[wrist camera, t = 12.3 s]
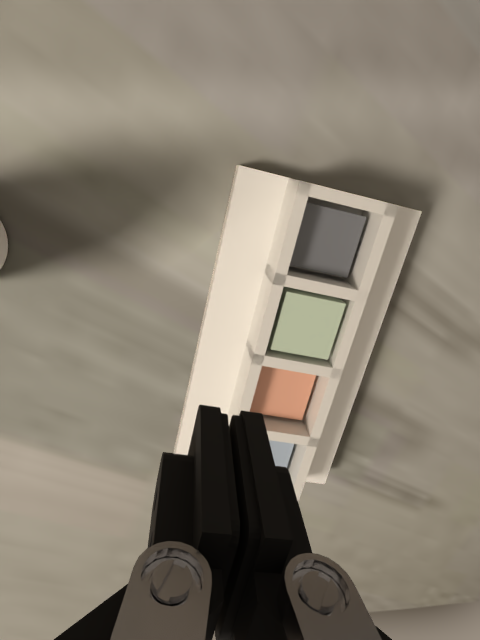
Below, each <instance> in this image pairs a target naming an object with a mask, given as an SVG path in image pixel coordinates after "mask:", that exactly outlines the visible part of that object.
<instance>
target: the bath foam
mask: <svg viewBox="0 0 480 640" xmlns="http://www.w3.org/2000/svg"><path fill="white" fill-rule="evenodd" d="M7 252H8V240H7V235H6V231H5V228H4V226H3V224H2V222H1V220H0V269H1V268H2V266H3V264H4V262H5V260H6V257H7Z"/></svg>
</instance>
